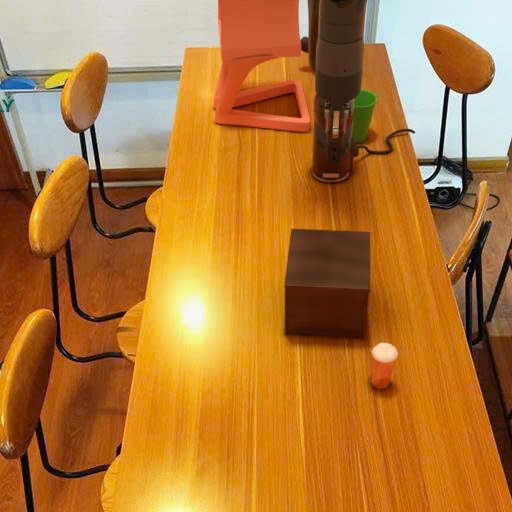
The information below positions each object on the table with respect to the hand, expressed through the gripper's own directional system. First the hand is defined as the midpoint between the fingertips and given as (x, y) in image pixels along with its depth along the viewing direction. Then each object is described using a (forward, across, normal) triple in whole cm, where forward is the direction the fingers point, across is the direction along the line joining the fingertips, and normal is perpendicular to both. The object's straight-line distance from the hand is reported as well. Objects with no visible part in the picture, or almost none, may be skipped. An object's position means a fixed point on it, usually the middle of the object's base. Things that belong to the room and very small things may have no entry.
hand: (333, 160), depth 123 cm
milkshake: (+29, -26, -10) cm, 41 cm away
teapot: (+31, +96, +3) cm, 101 cm away
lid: (+17, -7, 0) cm, 18 cm away
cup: (+30, +59, -6) cm, 66 cm away
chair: (+30, +70, +21) cm, 79 cm away
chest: (+29, -7, 0) cm, 30 cm away
